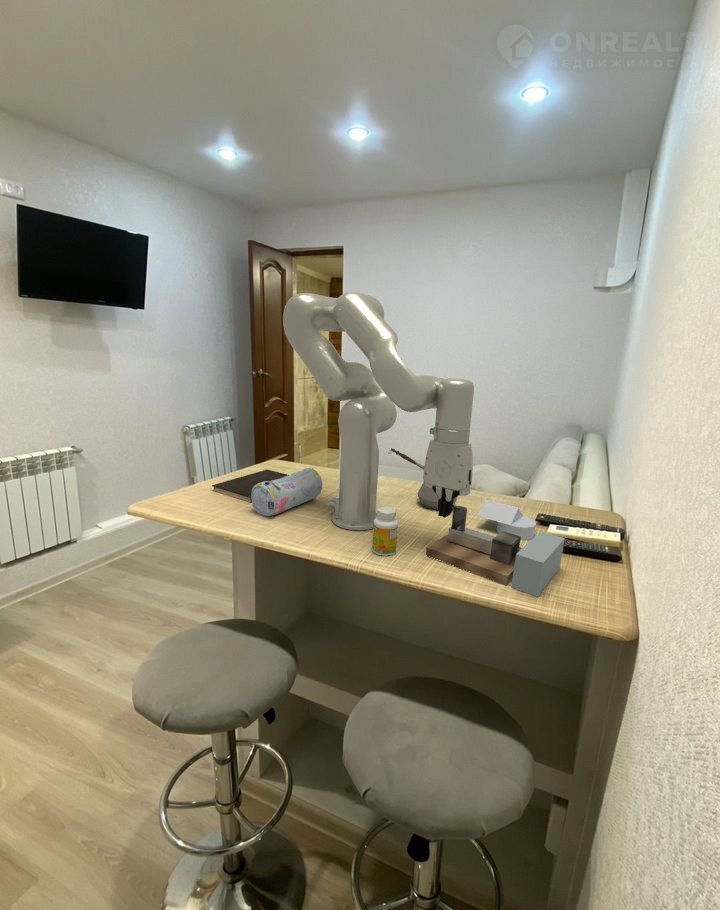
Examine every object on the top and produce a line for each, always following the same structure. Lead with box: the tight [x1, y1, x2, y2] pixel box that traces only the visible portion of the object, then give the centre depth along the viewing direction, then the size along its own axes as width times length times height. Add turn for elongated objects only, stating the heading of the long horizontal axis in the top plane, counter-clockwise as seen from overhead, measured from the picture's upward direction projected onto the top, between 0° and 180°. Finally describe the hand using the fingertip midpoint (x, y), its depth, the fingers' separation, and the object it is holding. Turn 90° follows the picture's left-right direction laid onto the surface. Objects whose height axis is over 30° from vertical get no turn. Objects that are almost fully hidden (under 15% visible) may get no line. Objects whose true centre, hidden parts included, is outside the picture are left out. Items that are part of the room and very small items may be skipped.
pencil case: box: [251, 467, 323, 517], centre depth 121 cm, size 21×9×10 cm, turn 145°
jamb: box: [510, 531, 566, 598], centre depth 90 cm, size 5×15×7 cm, turn 142°
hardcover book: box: [211, 468, 289, 504], centre depth 137 cm, size 16×23×2 cm
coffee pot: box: [387, 447, 458, 510], centre depth 130 cm, size 21×12×15 cm, turn 67°
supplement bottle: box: [371, 506, 399, 557], centre depth 97 cm, size 5×5×10 cm
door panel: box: [425, 531, 523, 586], centre depth 97 cm, size 18×15×6 cm
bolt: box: [447, 505, 496, 554], centre depth 97 cm, size 12×3×8 cm, turn 52°
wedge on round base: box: [477, 498, 537, 541], centre depth 113 cm, size 9×7×13 cm
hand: (444, 515), depth 102 cm, fingers closed
